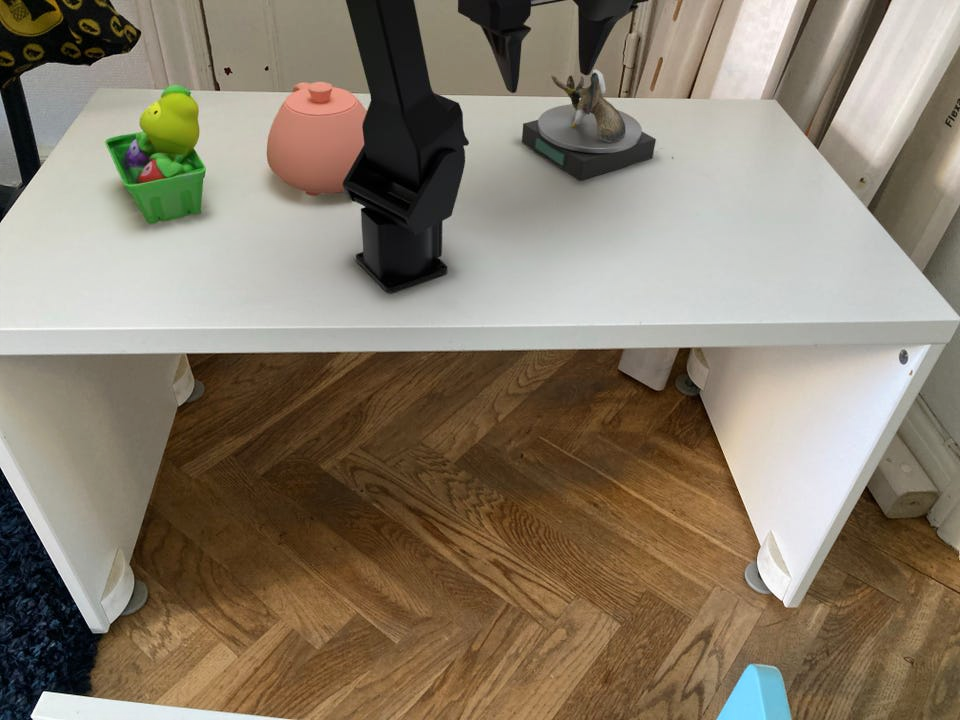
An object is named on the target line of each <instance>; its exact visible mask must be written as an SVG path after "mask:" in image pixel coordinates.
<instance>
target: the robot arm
mask: <svg viewBox="0 0 960 720" xmlns="http://www.w3.org/2000/svg"><path fill="white" fill-rule="evenodd" d="M565 1H567V0H457V13H458V14H459V15H463V16H464V17H466V18H468V19H469V21H470V22H472V23H474V24H476V25H478V26H479V27H480V28H481V30H482V32H483V34H484V36H485V39H486V40H487V42H488V44H489V46H490V49H491V51H492V54H493V57H494V59H495V62H496V65H497V67H498V70H499V73H500V75H501V77H502V81H503V83H504V86H505V88H506V90H507V91H508V92H509V93H511V94H515V93H517V90H518V85H519V81H520V72H521V71H520V70H521V57H522V46H523V45H522V44H523V40H524V39H525V38H526V37H527V35H528V34H529V33H530V32H531V30H532V27H530V26H528V25H526V24H525V23H526V22H527V20H529V18H530V16H531V13H532V8H533V7H537V6H545V5H549V4H554V3H560V2H565ZM572 1H573V2H574V4H575V5H576V6H577V11H578V12H577V17H578V19H577V21H578V23H577V25H578V26H577V27H578V35H577V36H578V37H577V38H578V64H579V72H580V74H582V75H583V76H586V77H587V76H589V75H590V74H592V72H593V70H594V69H593V68H594V67H595V64H596V62H597V60H598V58H599V57H600V54H601V52H602V50H603V48H604V46H605V43H606V41H607V40H608V38H609V37H610V35H611V32H612V30H613V29H614V28H615V26H616V24H617V23H618V22H619V21H620V20H621V19H623V18H624V17H626V16H628V14H630V13H633V12H635V11H637V10H638V8H639V5H638V4H641V3H645V2H649V0H572ZM345 3H346V7H347V11H348V14H349V19H350V23H351V26H352V30H353V33H354V37H355V41H356V45H357V49H358V53H359V57H360V59H361V60H360V61H361V64H362V69H363V72H364V76H365V80H366V83H367V87H368V88H367V89H368V91H369V95H370V101H369V104H368V107H367V109H366V111H367V112H366V115H365V118H364V120H363V124H362V129H363V137H364V146H363V148H362V149H361V151H360V153H359V155H358V156H357V158H356V160H355V162H354V163H353V165H352V167H351V169H350V170H349V172H348V174H347V176H346V177H345V179H344V181H343V187H344V189H345V191H344V193H345V194H346V196H347V198H348V200H349V201H351V202H353V203H357V204H358V205H361V206H363V207H362V208H360V219H361V220H360V222H361V235H362V236H361V238H362V251H361V252H358V253H356V254H355V261H356V262H357V263H358V264H359V266H361V267H362V268H363V270H365V272H367V273H368V274H369V276H370V277H372V279H374V281H376V283H377V284H379V286H381V288H382V289H384V291H386V292H388V293H392V292H396V291H399V290H401V289H404V288H407V287H409V286H414V285H416V284H418V283H421V282H424V281H427V280H430V279H433V278H437V277H439V276H442V275H445V274H447V273H448V265H447V264H446V263H444V261H443V260H441V259H440V258H441V257H442V255H443V222H444V221H445V220H447V219H449V218H451V217H452V215H453V212H454V209H455V205H456V201H457V197H458V193H459V189H460V186H461V182H462V178H463V175H464V170H465V166H466V150H465V147H467V146H469V144H470V142H469V141H470V140H468V138H467V137H466V133H465V131H464V113H463V110H462V107H461V105H460V103H459V102H458V101H456V100H453V99H451V98H447V97H445V96H442V95H440V94H438V93H436V92H434V91H433V88H432V85H431V81H430V80H431V79H430V74H429V70H428V66H427V60H426V54H425V49H424V45H423V40H422V35H421V29H420V23H419V18H418V14H417V9H416V2H415V0H345Z"/></svg>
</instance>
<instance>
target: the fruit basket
mask: <svg viewBox="0 0 960 720" xmlns="http://www.w3.org/2000/svg"><path fill="white" fill-rule="evenodd" d="M191 94H192V91H191V90H189V89H187V88H186V87H184V86H182V85H180V84H173V85H169V86H167V87H166V88H164V90H163V91H162V93H161V95H160V98H159V99H157V100H156V101H155V102H152V103H151V104H150V105H149V106H148V107H147V108H145V109H144V111H143V112H142V113H141V115H140V117H139V127H140V129H141V130H142V131H140V132H133V133H128V134H119V135H117V136H113V137H109V138H106V139H105V141H104V145H105V147H106V149H107V151H108V152H109V155H110V156H111V159H112V161H113V163H114V165H115V169H116V171H117V173H118V175H119V178H120V179H121V181H122V184H123V186H124V188H125V189H126V190H127V192H128V193H129V194H131V196H132V198H133V200H134V202H135V204H136V205H137V207H138V209H139V211H140V212H141V214H142V215H143V217H144V219H145V221H146V222H147V224H148V225H155V224H157V223H159V222H168V221H173V220H177V219H181V218H186V217H187V216H189V215H190V216H192V215H193V216H194V215H199V214H201V211H202V201H203V192H204V191H203V188H204V179H205V178H206V171H207V166H206V165H205V163H204V162H203V161H202V159H201V158H200V156H199V154H198V153H197V151H196V149H195V147H196V146H197V144H198V142H199V138H200V133H201V132H200V124H199V113H200V111H199V110H200V109H199V104H198V102H197V101H196V99H195V98H194V97H193V96H192V95H191Z"/></svg>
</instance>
